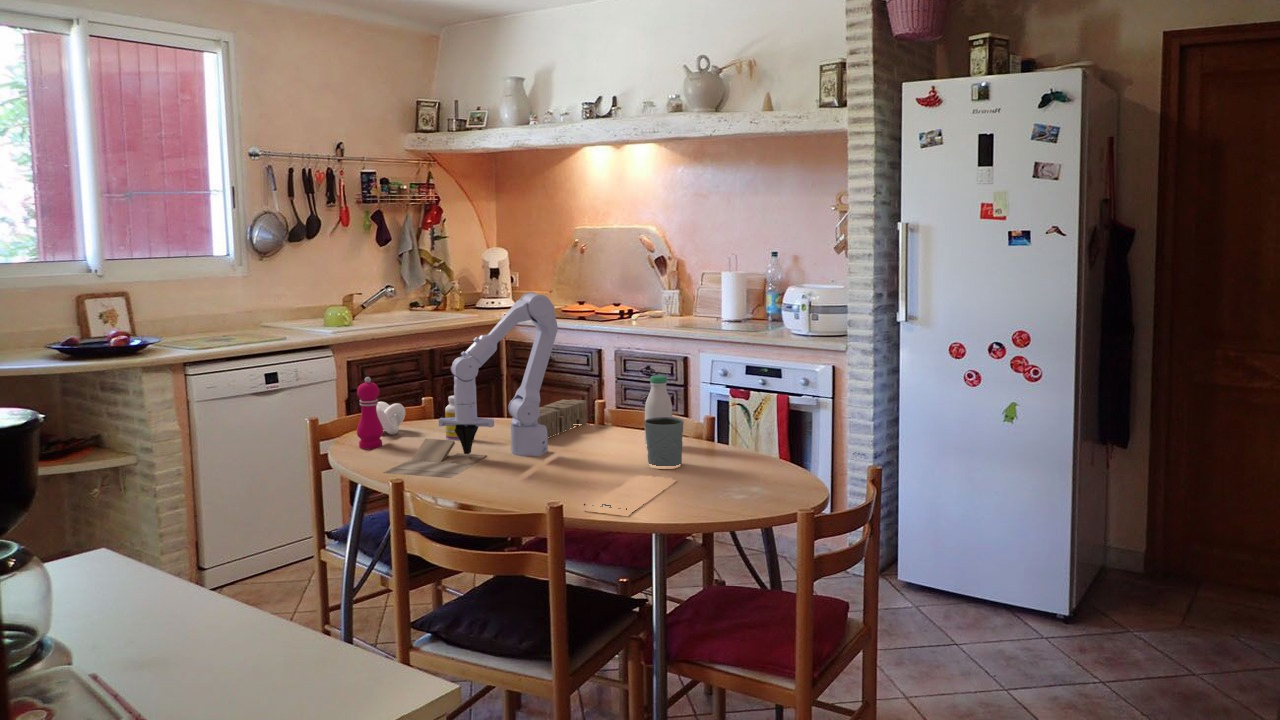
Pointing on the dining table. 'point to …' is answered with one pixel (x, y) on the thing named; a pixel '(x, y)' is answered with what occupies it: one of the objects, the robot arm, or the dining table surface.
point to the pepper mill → (369, 416)
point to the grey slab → (428, 469)
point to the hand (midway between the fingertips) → (467, 453)
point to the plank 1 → (433, 450)
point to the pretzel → (390, 416)
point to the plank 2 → (465, 458)
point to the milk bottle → (658, 399)
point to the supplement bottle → (449, 414)
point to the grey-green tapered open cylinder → (664, 440)
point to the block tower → (562, 415)
